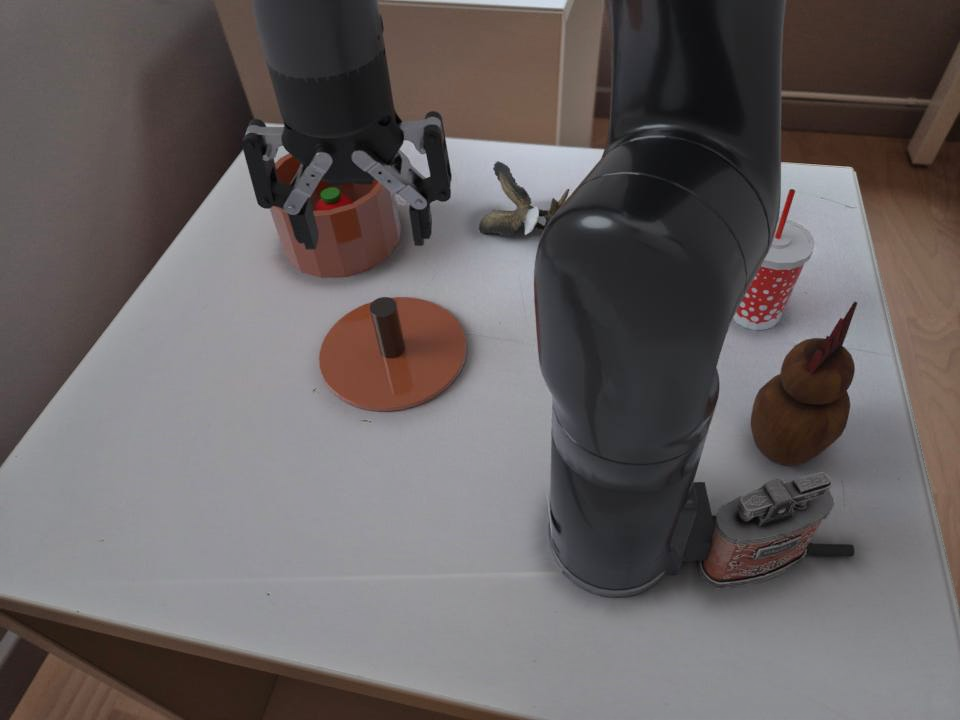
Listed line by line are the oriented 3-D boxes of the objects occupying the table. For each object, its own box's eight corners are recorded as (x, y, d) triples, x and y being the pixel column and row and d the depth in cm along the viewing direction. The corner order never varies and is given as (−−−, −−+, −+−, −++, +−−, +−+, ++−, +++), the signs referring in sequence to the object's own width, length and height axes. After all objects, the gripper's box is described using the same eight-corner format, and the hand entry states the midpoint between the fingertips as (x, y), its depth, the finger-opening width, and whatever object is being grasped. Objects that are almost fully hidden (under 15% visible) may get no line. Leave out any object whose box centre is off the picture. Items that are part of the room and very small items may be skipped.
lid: (468, 302, 74) (463, 251, 69) (465, 413, 65) (459, 363, 60) (332, 308, 75) (317, 257, 70) (311, 418, 66) (292, 369, 61)
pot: (404, 202, 85) (393, 137, 79) (396, 278, 77) (382, 212, 70) (295, 207, 86) (275, 143, 79) (275, 283, 78) (251, 218, 71)
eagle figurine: (572, 201, 82) (498, 171, 83) (569, 179, 75) (489, 145, 76) (541, 264, 81) (468, 232, 83) (536, 247, 74) (456, 212, 76)
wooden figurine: (798, 405, 64) (853, 274, 52) (843, 458, 60) (913, 330, 49) (728, 431, 62) (770, 303, 51) (770, 487, 59) (825, 362, 47)
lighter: (711, 597, 53) (740, 530, 46) (689, 555, 55) (713, 484, 48) (813, 564, 54) (857, 493, 47) (787, 524, 56) (826, 450, 49)
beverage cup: (735, 281, 74) (768, 160, 63) (797, 304, 71) (843, 182, 61) (710, 320, 70) (741, 199, 60) (774, 345, 68) (818, 224, 57)
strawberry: (362, 223, 82) (352, 179, 78) (358, 248, 80) (347, 204, 75) (325, 225, 83) (312, 181, 78) (319, 250, 80) (306, 206, 75)
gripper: (197, 78, 45) (269, 277, 57) (434, 67, 44) (455, 270, 57) (225, 20, 50) (286, 214, 62) (438, 9, 49) (457, 208, 61)
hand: (366, 241), depth 59 cm, fingers open, 8 cm apart
